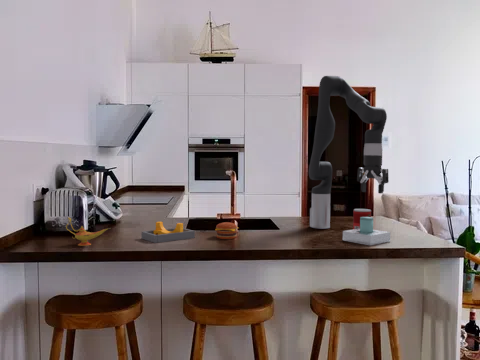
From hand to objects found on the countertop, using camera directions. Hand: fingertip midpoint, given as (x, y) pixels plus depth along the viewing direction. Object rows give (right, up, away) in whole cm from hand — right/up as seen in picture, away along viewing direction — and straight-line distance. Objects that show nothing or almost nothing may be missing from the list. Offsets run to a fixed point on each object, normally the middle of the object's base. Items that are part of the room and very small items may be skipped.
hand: (372, 192), depth 192 cm
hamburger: (-62, -20, +8) cm, 66 cm away
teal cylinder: (-2, -21, 0) cm, 21 cm away
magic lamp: (-117, -21, -11) cm, 119 cm away
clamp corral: (-87, -20, +4) cm, 90 cm away
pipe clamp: (-87, -20, +4) cm, 90 cm away
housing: (-2, -21, 0) cm, 21 cm away
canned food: (+1, -20, +21) cm, 29 cm away
